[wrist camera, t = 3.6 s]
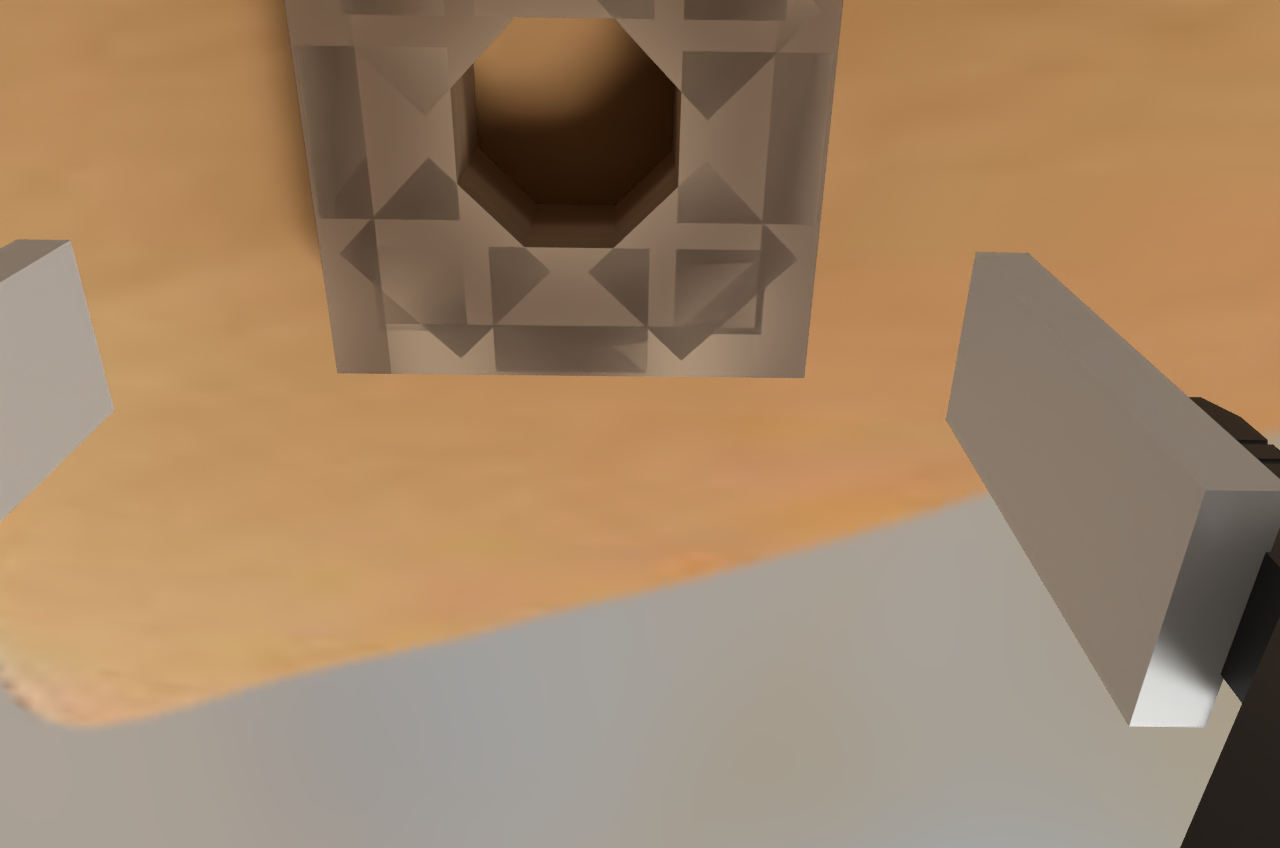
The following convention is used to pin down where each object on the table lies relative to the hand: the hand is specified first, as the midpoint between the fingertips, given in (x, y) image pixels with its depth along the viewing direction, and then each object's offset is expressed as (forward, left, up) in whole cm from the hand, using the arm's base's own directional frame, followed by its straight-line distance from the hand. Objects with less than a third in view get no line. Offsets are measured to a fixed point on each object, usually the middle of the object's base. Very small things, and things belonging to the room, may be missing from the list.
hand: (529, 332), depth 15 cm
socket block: (0, 0, -15) cm, 15 cm away
